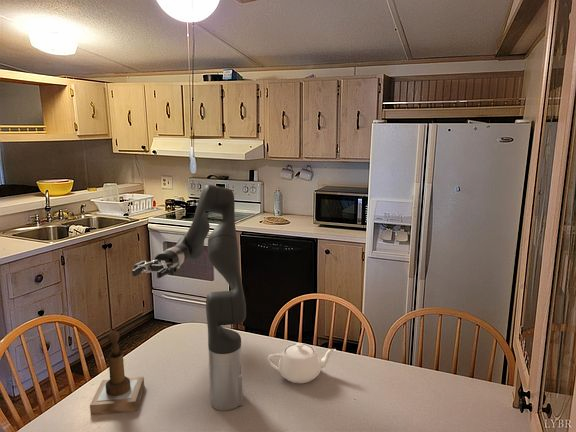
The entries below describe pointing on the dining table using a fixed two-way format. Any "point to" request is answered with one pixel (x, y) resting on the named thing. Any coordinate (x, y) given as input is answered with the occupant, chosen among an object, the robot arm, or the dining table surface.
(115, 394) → the brown pepper mill
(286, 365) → the teapot
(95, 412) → the plinth
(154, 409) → the dining table surface
